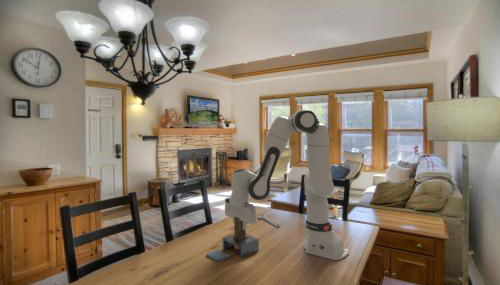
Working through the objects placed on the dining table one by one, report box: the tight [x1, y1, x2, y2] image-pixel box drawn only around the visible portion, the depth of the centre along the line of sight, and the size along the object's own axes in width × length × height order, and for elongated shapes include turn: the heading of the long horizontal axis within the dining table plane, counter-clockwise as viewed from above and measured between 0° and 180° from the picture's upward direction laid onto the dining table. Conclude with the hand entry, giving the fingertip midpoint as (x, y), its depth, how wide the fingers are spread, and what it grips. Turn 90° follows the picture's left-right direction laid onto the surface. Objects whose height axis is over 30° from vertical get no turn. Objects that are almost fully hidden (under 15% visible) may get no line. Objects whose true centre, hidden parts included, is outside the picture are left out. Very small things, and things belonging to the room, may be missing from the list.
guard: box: [222, 233, 260, 259], centre depth 144 cm, size 14×12×6 cm
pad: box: [205, 249, 230, 263], centre depth 136 cm, size 9×7×1 cm
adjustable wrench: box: [257, 214, 281, 228], centre depth 188 cm, size 25×6×2 cm, turn 21°
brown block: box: [233, 217, 247, 241], centre depth 143 cm, size 4×4×12 cm
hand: (240, 228), depth 144 cm, fingers closed on brown block, 4 cm apart
